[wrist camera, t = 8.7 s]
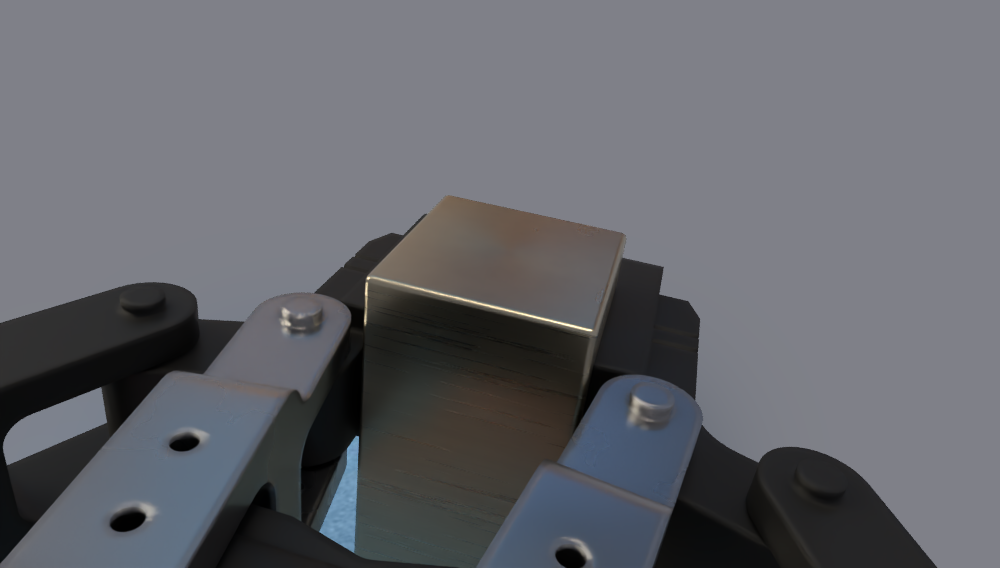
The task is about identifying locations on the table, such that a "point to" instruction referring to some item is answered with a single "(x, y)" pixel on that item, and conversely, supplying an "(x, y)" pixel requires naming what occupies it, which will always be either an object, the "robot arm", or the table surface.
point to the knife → (473, 373)
